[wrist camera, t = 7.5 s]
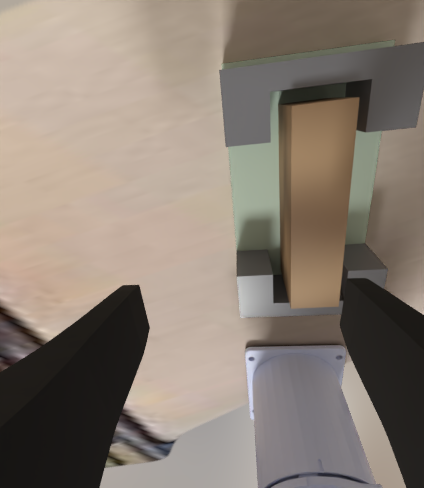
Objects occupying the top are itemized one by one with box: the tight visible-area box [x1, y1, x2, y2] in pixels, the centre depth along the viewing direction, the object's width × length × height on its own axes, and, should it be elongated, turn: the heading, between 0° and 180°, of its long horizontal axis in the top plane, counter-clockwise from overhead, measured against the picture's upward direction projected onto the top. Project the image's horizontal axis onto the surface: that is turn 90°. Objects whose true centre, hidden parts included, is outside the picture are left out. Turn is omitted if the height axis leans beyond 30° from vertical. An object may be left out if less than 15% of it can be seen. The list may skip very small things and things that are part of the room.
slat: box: [278, 97, 360, 309], centre depth 15 cm, size 10×2×4 cm, turn 7°
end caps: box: [219, 42, 424, 318], centre depth 15 cm, size 13×8×3 cm, turn 6°
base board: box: [222, 40, 395, 275], centre depth 17 cm, size 14×8×1 cm, turn 6°
